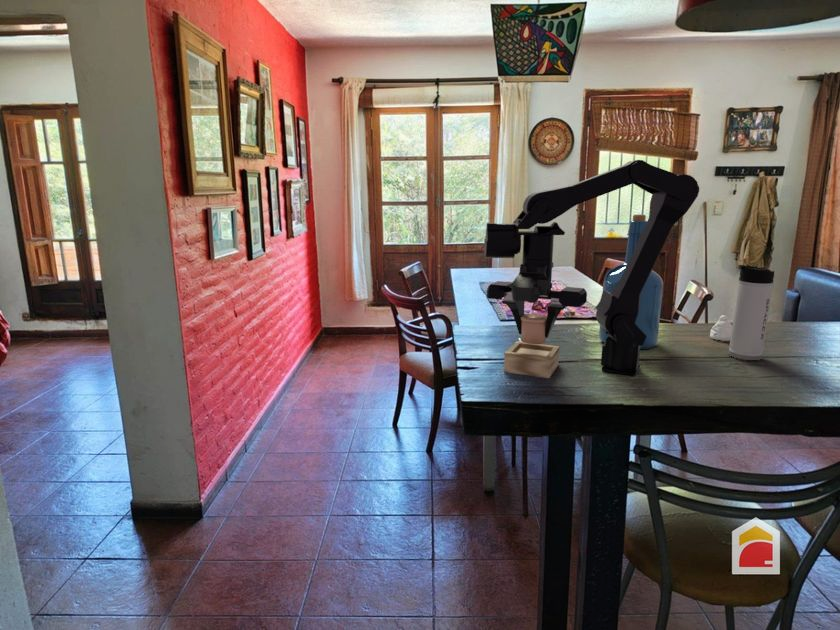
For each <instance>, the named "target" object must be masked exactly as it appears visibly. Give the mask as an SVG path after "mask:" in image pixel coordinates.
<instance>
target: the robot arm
mask: <svg viewBox="0 0 840 630" xmlns="http://www.w3.org/2000/svg"><path fill="white" fill-rule="evenodd" d="M630 185H634V186H637V187H638V188H640V189H642V190H643V191H645V192H646V193H649V194H650V195H651V197H650V202H649V211H648V212H649V213H648V214H649V215H648V220H646V221H647V223H646V226H645V228H644V230H643V232H642V234H641V236H640V238H639V241H638V243H637V245H636V247H635V249H634V251H633V253H632V256H631V258H630V260H629V262H628V264H627V266H626V268H625V271H624V273H623V275H622V277H621V279H620V281H619V283H618V285H617V286H616V287H615V288H614V289H613V290H612V291H611V292H610V293H609V292H607V291H605V290H604V291H603V290H602V292H601V296H600V299H599V301H598V304H596V305H595V306H594V309H596V313H595V318H596V321H597V323H598V324H599V326H600V325H601V326H602V327H603V328H604V330H605V333H606V334H607V335H608V337H607V339H606V343H604V344H603V345H602V346H601V357H600V365H601V371H602V372H606V373H607V372H609V373H614V374H620V375H621V374H622V375H627V376H636V375H637V374H638V372H639V369H640V367H641V364H640V353H641V349H640V346H642V345H643V343H644V341H645V339H646V337H647V336H646V335H645V334H644V333H643V332H642V331H641V330H640V329H639V328H638V327H637V325H636V324H635V323H636V319H637V316H638V312H639V301H640V294H641V292H642V290H643V287H644V285H645V283H646V281H647V279H648V277H649V275H650V273H651V271H653V269H654V267H655V264H656V262H657V260H658V258H659V256H660V254H661V252H662V250H663V248H664V245H665V243H666V241H667V239H668V238H669V235H670V233H671V231H672V229H673V227H674V225H675V224H676V223H678V222H679V221H680V220H681V219H682V218H683V216H685V215H686V214H687V213H688V211H689V209H690V208H691V207H692V205H693V204H694V202H695V201H696V199H697V198H698V196H699V193H700V186H699V184H698V181H697V179H695V177H694V176H692V175H690V174H686V173H685V174H684V173H683V174H675V173H674V172H672V171H668V170H666V169H663V168H660V167H657V166H655V165H652V164H650V163H648V162H647V161H645V160H642V159H636V160H635V159H634V160H630V161H627V162H626V163H624V164H623V165H620V166H618V167H615V168H612V169H610V170H607V171H605V172H602V173H598V174H597V175H594V176H591V177H589V178H587V179H583V180H581V181H578V182H575V183H573V184H571V185H568V186H562V187H558V188H552V189H545V190H541V191H537V192H533V193H531V194H529V195H527V196H526V198H525V199H524V200H523V201H524V202H523V204H522V210H521V212H520V213H519V214H518V216H517V217H516V218H515V220H513V222H512V223H496V222H487V223H486V230H485V238H484V240H483V241H484V242H483V244H484V245H483V246H484V247H483V251H484V258H485V259H514V258H515V255H518V254H520V253H521V247H522V261H521V262H522V263H520V267H519V273H518V275H517V276H516V277H515V278H514V280H513V281H499V280H498V281H495V282H493V283H490V284H489V285H488V286H487V288H486V298H487V299H492V300H498V301H499V300H502V299H503V300H502V301H501V304H503V305H506V306H507V307H508V309H510V311H511V313H512V316H513V318H514V322H515V325H516V327H517V328H516V329H517V331H518V334H519V335H521V324H522V320H521V315H523V314H525V302H528V303H531V304H534V303H536V302H538V300H539V299H542V300H550V302H551V303H550V304H549V305H547V306H546V309H547V310H546V311H547V315H546V316H547V322H546V329H545V338H546V339H548V338H549V337H550V334H551V332H552V330H553V327H554V325H555V323H556V321H557V319H558V317H559V315H560V313H561V311H563V310H564V309H566V308H567V307H571V308H581V307H582V306H584V305H585V304H586V303H587V301H588V299H587V298H588V291H587V290H586V289H585V288H584V287H572V286H566V287H565V288H562V289H560V290H555V289H553V282H552V274H553V272H552V271H553V268H554V262H553V255H554V254H553V253H554V238H555V236H564V235H565V234H566V232H565V230H563V229H562V228H561V227H560V225H559V224H558V222H556V221H554V222H552V223H551V224H550V225H544V224H547V223H549V222H551V221H553V220H555V219H556V218H559V217H560V216H562V215H563V214H565V213H566V212H568V211H569V210H571V209H572V208H574V207H576V206H577V205H580V204H582V203H585V202H588V201H589V200H593V199H595V198H598V197H601V196H604V195H606V194H608V193H611V192H614V191H617V190H619V189H622V188H625V187H628V186H630ZM537 224H540V225H537ZM542 224H543V225H542ZM541 225H542V226H541ZM533 227H534V229H533V230H529V229H531V228H533ZM521 230H522V231H521ZM524 230H525V231H524ZM522 236H523V238H522ZM522 239H523V240H522Z"/></svg>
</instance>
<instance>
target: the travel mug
mask: <svg viewBox="0 0 840 630" xmlns="http://www.w3.org/2000/svg"><path fill="white" fill-rule="evenodd" d="M738 269H740V270H739V278H738V284H737V289H736V298H735V304H734V313H733V318H732V324H731V325H732V332H731V339H730V342H729V348H728V356H730V357H731V356H732V357H731V358H733V357H734V358H733V359H736V358H738V359H737V360H740V359H743V360H742V361H746V360H758V361H760V359H761V360H762V359H763V355H764V354H763V353H764V352H763V351H764V348H765V347H764V345H765V341H766V340H765V339H766V335H767V334H766V332H767V328H768V327H767V326H768V320H769V316H770V315H769V314H770V307H771V302H772V295H773V288H774V286H773V285H774V279H775V270H771V269H769V268H764V267H763V268H762V267H757V266H750V265H744V264H739V265H738Z"/></svg>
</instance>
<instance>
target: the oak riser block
mask: <svg viewBox="0 0 840 630" xmlns="http://www.w3.org/2000/svg"><path fill="white" fill-rule="evenodd" d="M559 358H560V346H559V345H551V344H550V345H549V344H544V343H543V344H528V343H524V342H522V341H515V342H514V343H513V344H512V345H511V346H510V347H509V348H508V349H506V351H505V352H504V360H503V362H504V363H503V365H504V366H503V372H504V373H511V374H516V375H523V376H530V377H531V376H532V377H539V378H544V379H550V378H551V376H552V375H553V373H555V372H554V371H556V369H557V367H558V366H559V361H560V359H559Z"/></svg>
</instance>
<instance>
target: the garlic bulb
mask: <svg viewBox="0 0 840 630" xmlns="http://www.w3.org/2000/svg"><path fill="white" fill-rule="evenodd" d="M732 325H733V324H732V323H731V322H730V321H729V320H728V316H727V315H720V316H719V319H718V321H716V323H715V324H714V325H713V326H712V327H711V329H710V332H709V337H710V338H713V339H717V340H725V341H729V340H730V339H731V332H732ZM713 339H712V340H713ZM717 340H716V341H717Z"/></svg>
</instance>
